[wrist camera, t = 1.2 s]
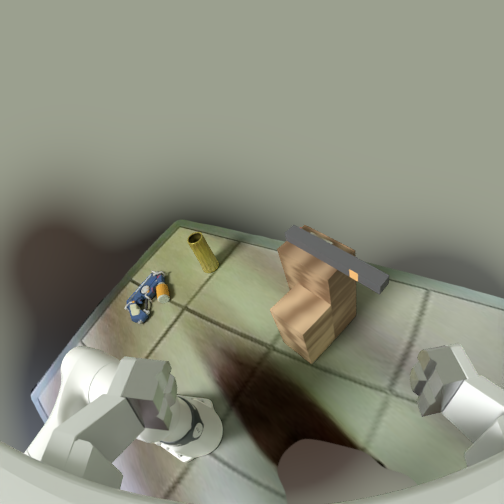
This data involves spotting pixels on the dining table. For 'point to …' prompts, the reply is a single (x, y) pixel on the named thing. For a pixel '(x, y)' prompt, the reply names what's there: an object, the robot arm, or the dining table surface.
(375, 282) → the bar
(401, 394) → the dining table surface
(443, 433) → the dining table surface
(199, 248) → the vase
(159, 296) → the toy blaster gun
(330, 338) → the stand
